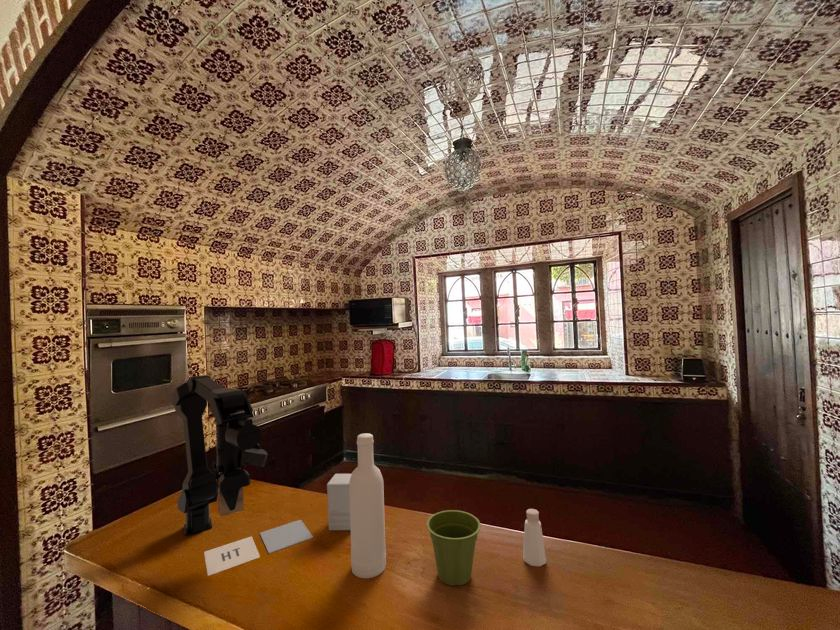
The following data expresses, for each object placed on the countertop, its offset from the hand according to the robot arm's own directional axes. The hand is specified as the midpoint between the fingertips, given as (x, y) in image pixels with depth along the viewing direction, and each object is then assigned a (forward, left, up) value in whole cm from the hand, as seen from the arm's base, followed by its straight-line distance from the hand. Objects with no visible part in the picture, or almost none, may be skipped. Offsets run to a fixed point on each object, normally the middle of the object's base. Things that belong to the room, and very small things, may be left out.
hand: (230, 505), depth 90 cm
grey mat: (0, +13, -12) cm, 18 cm away
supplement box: (+4, +28, -12) cm, 31 cm away
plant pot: (+39, +39, -12) cm, 56 cm away
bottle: (+25, +25, -12) cm, 37 cm away
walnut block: (0, 0, -1) cm, 1 cm away
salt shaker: (+46, +57, -12) cm, 74 cm away
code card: (0, 0, -12) cm, 12 cm away
